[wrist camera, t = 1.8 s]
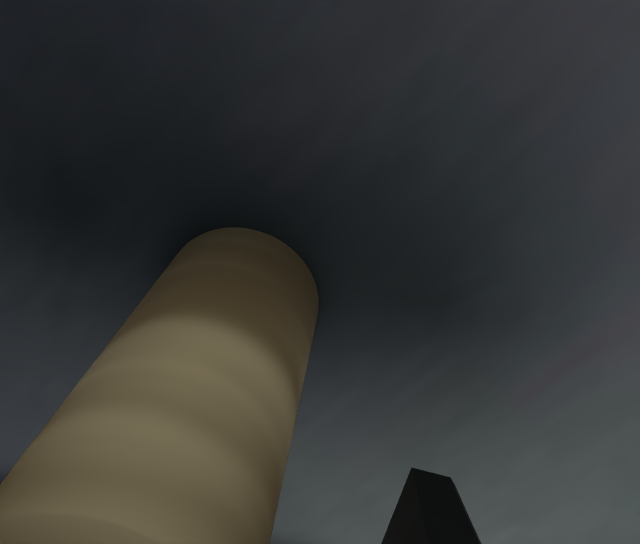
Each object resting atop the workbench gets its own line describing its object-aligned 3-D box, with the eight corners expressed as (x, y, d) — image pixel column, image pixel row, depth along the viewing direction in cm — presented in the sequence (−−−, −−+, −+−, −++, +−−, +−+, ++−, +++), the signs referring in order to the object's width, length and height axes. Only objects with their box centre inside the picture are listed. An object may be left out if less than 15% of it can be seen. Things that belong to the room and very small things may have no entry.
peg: (175, 209, 13) (-72, 477, 6) (335, 250, 13) (272, 562, 6) (157, 344, 15) (-55, 680, 8) (300, 380, 15) (219, 748, 8)
